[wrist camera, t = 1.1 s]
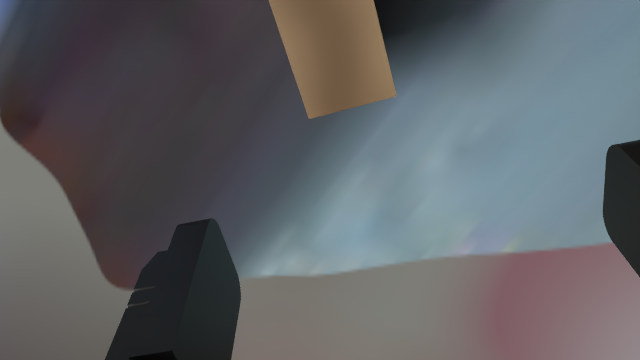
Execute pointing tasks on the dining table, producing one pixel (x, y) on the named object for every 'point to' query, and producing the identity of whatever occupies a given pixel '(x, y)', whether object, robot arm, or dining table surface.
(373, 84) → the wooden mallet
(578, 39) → the dining table surface
